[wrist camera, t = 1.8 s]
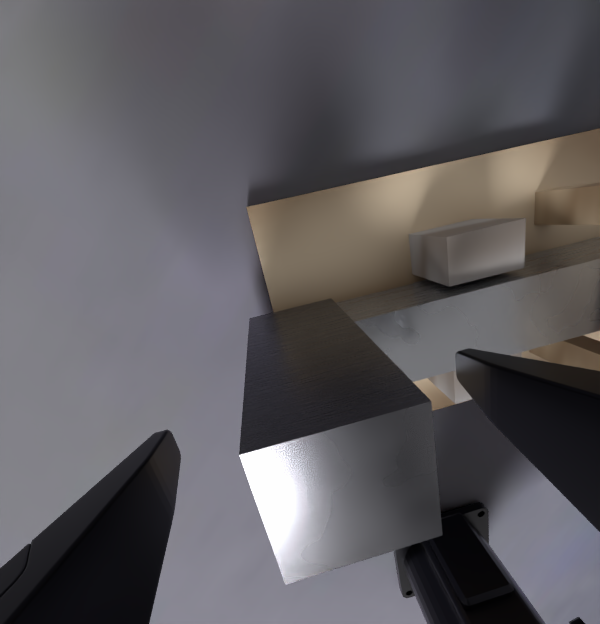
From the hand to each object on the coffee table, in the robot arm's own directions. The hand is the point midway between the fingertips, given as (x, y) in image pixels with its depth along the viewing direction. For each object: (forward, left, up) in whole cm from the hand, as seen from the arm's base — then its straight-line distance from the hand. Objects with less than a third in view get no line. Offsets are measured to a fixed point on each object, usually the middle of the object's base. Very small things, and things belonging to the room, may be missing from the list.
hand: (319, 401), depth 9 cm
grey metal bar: (0, -9, -4) cm, 10 cm away
